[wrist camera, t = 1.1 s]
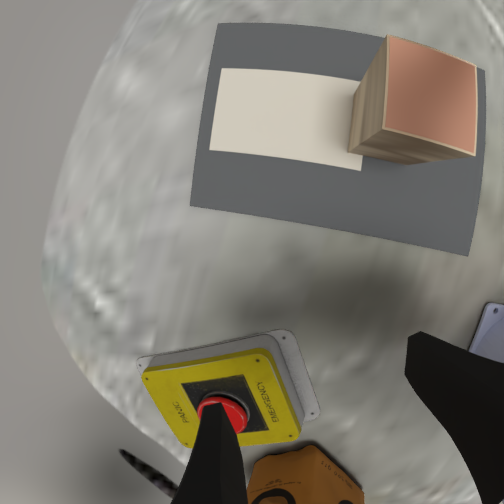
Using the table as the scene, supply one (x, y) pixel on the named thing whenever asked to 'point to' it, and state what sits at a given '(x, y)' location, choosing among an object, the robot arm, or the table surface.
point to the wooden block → (415, 105)
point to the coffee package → (301, 480)
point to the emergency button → (235, 387)
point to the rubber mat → (319, 142)
